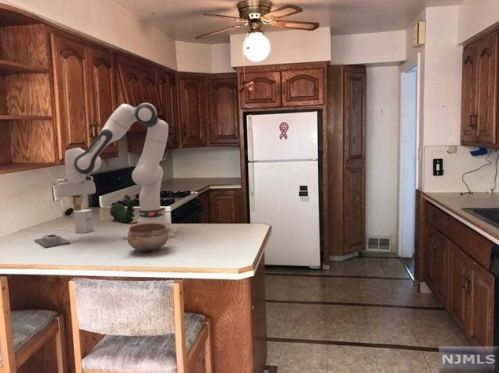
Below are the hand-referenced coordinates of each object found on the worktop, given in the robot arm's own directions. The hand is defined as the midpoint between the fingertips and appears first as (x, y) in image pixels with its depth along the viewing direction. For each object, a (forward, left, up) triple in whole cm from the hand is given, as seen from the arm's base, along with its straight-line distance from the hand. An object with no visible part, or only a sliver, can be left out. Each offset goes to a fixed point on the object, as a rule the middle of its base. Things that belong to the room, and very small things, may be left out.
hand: (77, 203), depth 230 cm
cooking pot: (-51, -14, -19) cm, 57 cm away
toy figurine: (+27, -37, -19) cm, 50 cm away
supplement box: (+16, -8, -19) cm, 26 cm away
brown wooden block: (0, 0, -4) cm, 4 cm away
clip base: (+2, +14, -19) cm, 23 cm away
